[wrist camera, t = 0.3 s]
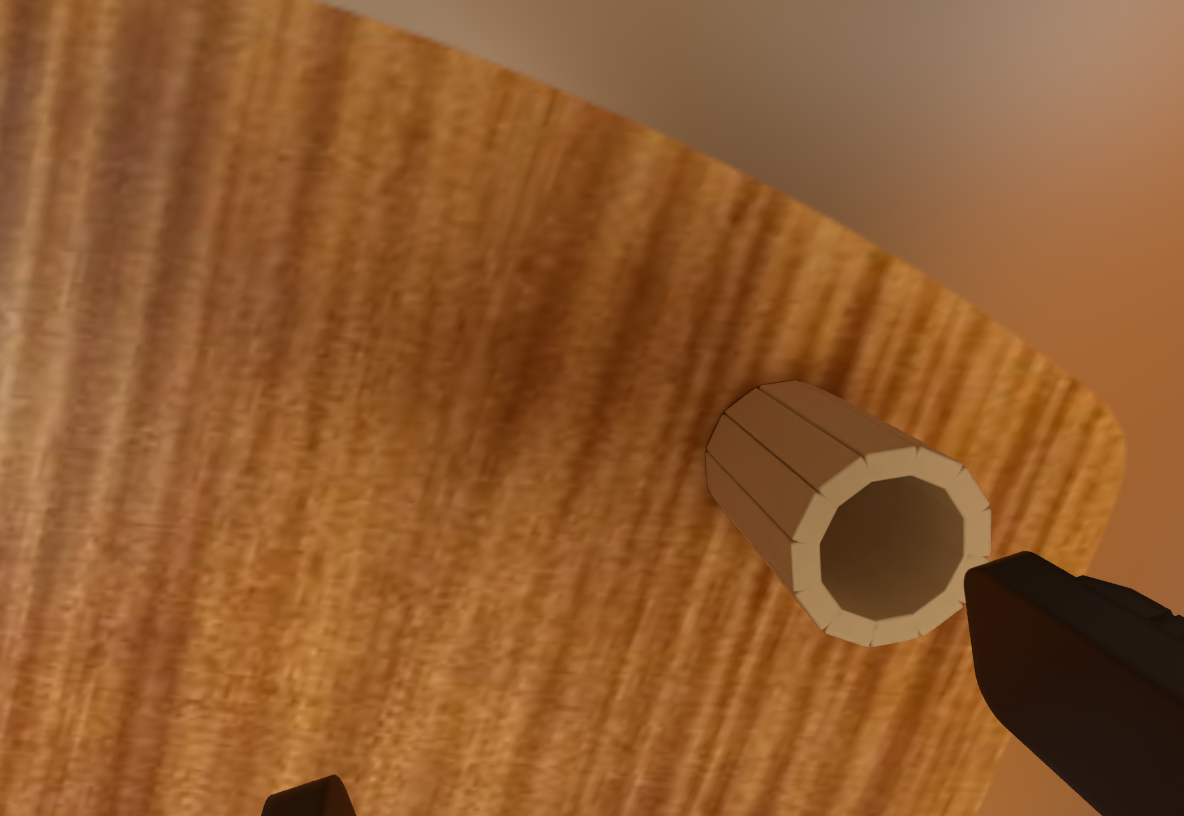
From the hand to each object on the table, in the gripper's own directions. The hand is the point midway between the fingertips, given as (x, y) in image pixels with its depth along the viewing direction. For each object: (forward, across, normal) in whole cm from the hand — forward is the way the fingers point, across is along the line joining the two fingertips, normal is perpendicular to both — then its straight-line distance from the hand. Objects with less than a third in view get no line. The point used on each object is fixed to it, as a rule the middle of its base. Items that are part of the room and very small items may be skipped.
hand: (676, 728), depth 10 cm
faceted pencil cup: (+18, -8, +4) cm, 20 cm away
